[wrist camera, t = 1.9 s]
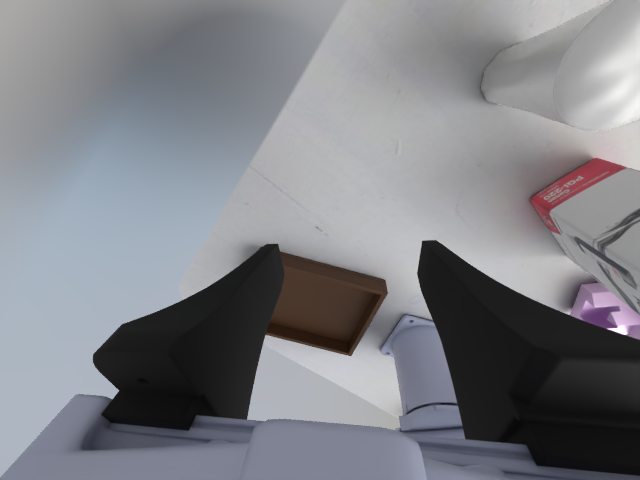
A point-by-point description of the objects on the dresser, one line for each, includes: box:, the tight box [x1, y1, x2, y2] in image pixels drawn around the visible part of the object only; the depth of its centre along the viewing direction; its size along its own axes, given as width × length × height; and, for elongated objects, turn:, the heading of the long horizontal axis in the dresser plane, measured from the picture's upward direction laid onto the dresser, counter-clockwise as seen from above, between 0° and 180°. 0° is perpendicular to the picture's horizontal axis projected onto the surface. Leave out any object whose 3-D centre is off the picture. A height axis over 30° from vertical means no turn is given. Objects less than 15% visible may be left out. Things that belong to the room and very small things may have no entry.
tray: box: [259, 247, 388, 356], centre depth 28 cm, size 14×12×2 cm
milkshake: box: [481, 0, 640, 131], centre depth 11 cm, size 4×5×10 cm
